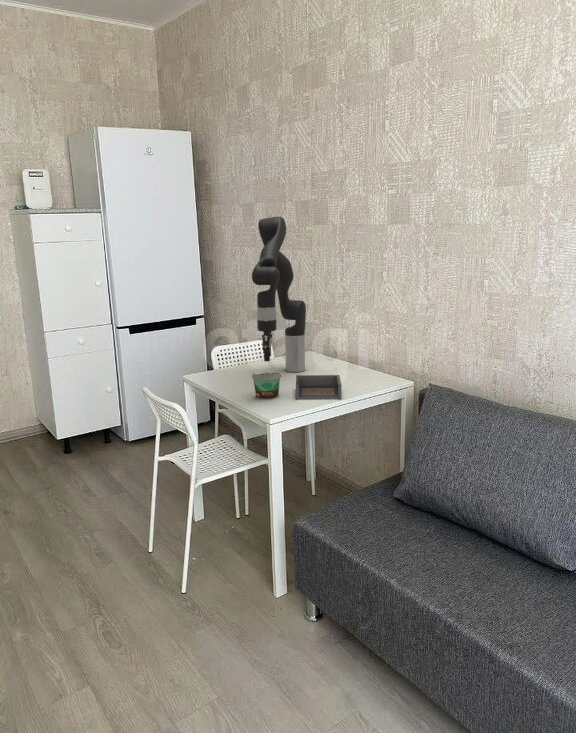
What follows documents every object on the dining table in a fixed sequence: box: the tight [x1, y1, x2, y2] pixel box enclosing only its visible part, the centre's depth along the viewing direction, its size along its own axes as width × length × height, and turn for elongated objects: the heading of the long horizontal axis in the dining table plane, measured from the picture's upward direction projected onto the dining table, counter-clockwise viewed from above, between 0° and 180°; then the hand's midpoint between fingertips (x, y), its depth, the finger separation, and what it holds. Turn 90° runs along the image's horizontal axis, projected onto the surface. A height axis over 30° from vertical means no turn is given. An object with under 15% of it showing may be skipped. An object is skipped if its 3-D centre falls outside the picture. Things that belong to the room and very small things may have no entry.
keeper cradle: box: [295, 374, 342, 401], centre depth 245 cm, size 15×18×6 cm
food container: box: [251, 370, 282, 400], centre depth 241 cm, size 12×6×10 cm, turn 106°
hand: (267, 358), depth 239 cm, fingers open, 8 cm apart
